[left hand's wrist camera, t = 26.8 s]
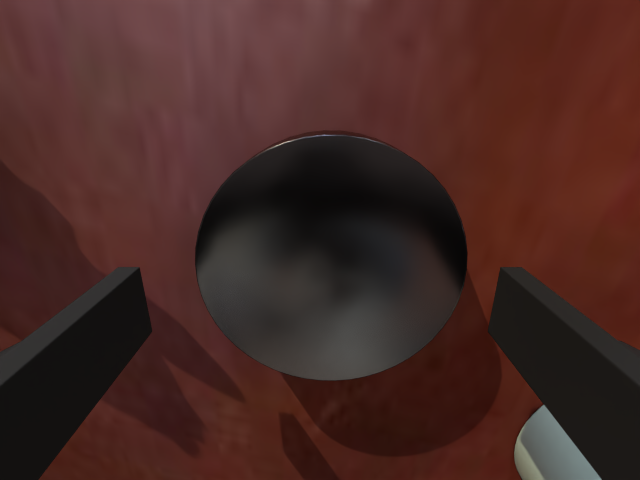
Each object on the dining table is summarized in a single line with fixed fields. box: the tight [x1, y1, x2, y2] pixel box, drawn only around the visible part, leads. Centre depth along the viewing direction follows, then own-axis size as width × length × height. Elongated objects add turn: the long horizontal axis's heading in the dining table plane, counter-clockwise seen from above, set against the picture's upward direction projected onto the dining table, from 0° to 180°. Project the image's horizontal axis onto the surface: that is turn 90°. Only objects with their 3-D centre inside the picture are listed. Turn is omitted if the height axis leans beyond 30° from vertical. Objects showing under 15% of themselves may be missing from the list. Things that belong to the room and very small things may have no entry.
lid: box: [195, 131, 467, 381], centre depth 14 cm, size 10×10×2 cm
